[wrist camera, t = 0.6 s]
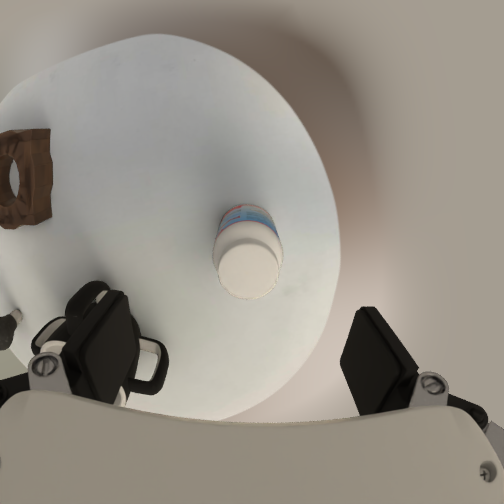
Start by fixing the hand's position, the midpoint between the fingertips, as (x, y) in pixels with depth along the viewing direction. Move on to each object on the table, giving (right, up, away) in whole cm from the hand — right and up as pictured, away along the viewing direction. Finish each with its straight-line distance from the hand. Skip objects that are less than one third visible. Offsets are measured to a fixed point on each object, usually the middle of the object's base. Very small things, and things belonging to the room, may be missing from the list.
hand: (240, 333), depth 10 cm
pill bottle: (0, +6, +21) cm, 21 cm away
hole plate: (-32, +14, +16) cm, 39 cm away
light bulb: (-42, -8, +25) cm, 49 cm away
